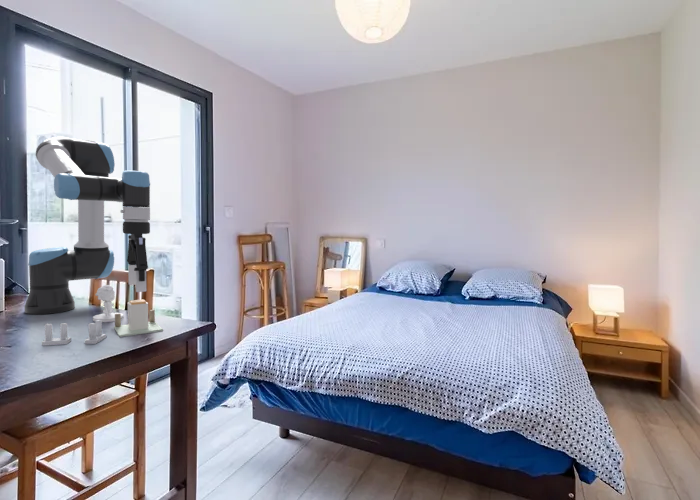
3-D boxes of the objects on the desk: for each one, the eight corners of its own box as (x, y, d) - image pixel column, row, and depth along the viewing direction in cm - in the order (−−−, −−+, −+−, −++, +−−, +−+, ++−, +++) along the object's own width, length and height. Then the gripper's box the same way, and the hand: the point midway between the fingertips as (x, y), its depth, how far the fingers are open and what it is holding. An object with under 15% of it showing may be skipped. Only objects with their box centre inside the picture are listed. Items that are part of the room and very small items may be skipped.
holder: (114, 327, 127) (113, 313, 126) (154, 322, 134) (154, 309, 134) (119, 337, 117) (119, 321, 117) (162, 330, 124) (162, 316, 124)
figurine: (109, 323, 132) (108, 287, 131) (86, 321, 134) (85, 286, 133) (129, 316, 141) (128, 283, 140) (107, 314, 143) (107, 282, 142)
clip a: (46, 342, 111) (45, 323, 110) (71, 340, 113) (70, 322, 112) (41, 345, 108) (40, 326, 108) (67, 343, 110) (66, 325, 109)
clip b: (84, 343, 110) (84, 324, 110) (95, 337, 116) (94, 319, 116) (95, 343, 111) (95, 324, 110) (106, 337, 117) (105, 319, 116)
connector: (128, 326, 126) (127, 300, 125) (145, 324, 129) (145, 298, 128) (130, 330, 122) (130, 303, 121) (148, 328, 125) (148, 301, 124)
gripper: (116, 219, 130) (117, 282, 132) (129, 222, 111) (130, 296, 113) (142, 220, 135) (142, 281, 137) (158, 222, 115) (158, 293, 117)
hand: (137, 288), depth 125 cm, fingers open, 13 cm apart
